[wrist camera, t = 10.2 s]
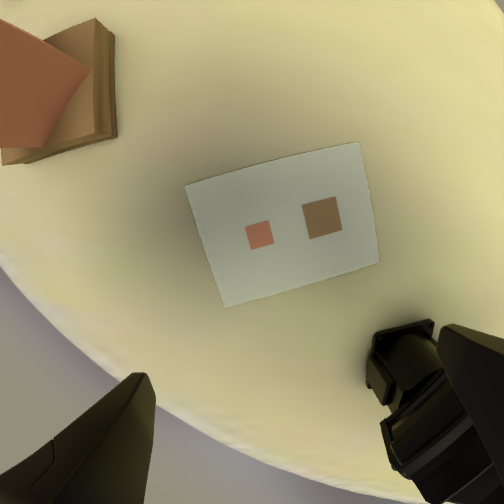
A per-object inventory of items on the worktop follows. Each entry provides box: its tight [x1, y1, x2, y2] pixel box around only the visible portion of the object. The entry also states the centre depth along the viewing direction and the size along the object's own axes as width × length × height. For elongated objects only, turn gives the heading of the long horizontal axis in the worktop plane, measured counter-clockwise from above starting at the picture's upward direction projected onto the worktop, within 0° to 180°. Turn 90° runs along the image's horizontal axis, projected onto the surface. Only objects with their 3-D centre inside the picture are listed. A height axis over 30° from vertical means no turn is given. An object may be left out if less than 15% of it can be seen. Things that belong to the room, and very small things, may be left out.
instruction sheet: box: [184, 142, 380, 308], centre depth 20 cm, size 12×9×1 cm
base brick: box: [1, 18, 117, 166], centre depth 14 cm, size 8×8×4 cm
